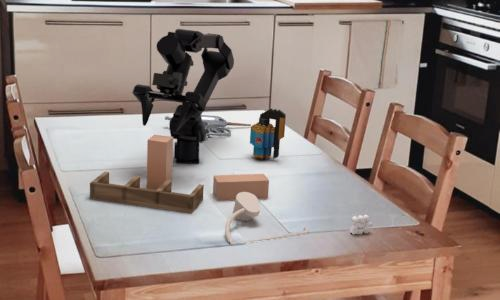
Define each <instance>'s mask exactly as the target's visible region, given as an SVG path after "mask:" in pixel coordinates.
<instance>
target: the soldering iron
mask: <svg viewBox="0 0 500 300" xmlns="http://www.w3.org/2000/svg"><path fill="white" fill-rule="evenodd" d="M171 118H172V117H170V116H168V115H167V116H166V115H165V117H164V120H168V121H170V120H171ZM201 118H202V122H203V126H204V128H205V130H206V137H205V139H208V138H209V137H208V136H215V137H229V136H230V135H231V134H232V130H230V129H229V128H227V126H233V127H235V126H237V127H238V126H240V127H241V126H242V127H251V126H252V124H250V123H240V122H239V123H238V122H229V121H227V120H225V119H224V118H222V116H218V115H208V114H207V115H206V114H201ZM223 132H225V133H223Z"/></svg>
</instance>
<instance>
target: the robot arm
mask: <svg viewBox="0 0 500 300" xmlns="http://www.w3.org/2000/svg"><path fill="white" fill-rule="evenodd" d="M208 49H217V50H218V51H217V50H216V51H214V50H208ZM202 50H203V51H202ZM156 51H157V52H158V54H159V55H160V56H161V57H162V59H163V60H164V62H165V63H166V64H168V65H167V67H166V70H163V72H162V73H159V72H154V73H153V77H152V82H151V83H152V84H151V85H152V86H156V87H155V88H156V89H157V90H159V91H154V90H153V89H152V88H151V86H150V85H145V84H138V83H137V84H136V85H135V86H134V87H133V89H132V92H131V93H132V95H133V96H134V97H135V98H136V99H137V100H138V102H140V104H141V114H142V115H141V118H142V125H143V126H144V127H145V126H146V125H147V123H148V121H149V118H150V117H151V113H152V110H153V108H154V103H153V102H154V101H155V100H159V101H160V100H161V101H169V102H175V103H181V104H179V105H178V106H177V107H176V109H175V111H174V113H173V114H172V115H173V116H172V117H170V118H171V120H169V125H168V126H169V127H168V128H169V133H170V137H173V140H176V141H175V142H174V147H173V158H174V159H175V163H177V164H200V143H204V142H205V140H206V130H205V128H204V126H203V122H202V118H201V115H203V114H202V113H203V112H205V109H206V106H207V104H208V102H209V100H210V98H211V96H212V94H213V93H214V90H215V88H216V86H217V84H218V83H219V81H220V80H222V79H224V78H226V77H227V76H228V75H229V74H230V72H231V70H232V69H233V68H234V65H235V59H234V58H235V57H234V55H233V50H232V49H231V47H229V46H228V45H227V43H226V42H225V40H224V36H223V35H221V34H218V33H203V32H201V31H199V30H192V29H183V28H176V29H175V30H174V32H173V31H168V32H167V35H164V36H163V37H161V38H160V39H159V40H158V41H157V43H156ZM201 51H202V52H201ZM199 52H201V54H200V56H201V59H202V65H203V69H204V71H203V73H202V75H201V76H200V79H199V80H198V82H197V84H196V86H195V88H194V89H193V91H187V92H185V95H184V94H183V93H184V90H185V87H187V86H188V81H187V79H188V75H189V73H190V70H191V67H193V66H194V65H195V64H194V61H193V58H192V55H190V54H189V53H195V54H197V53H199ZM174 159H173V160H174Z"/></svg>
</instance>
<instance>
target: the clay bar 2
mask: <svg viewBox="0 0 500 300" xmlns="http://www.w3.org/2000/svg"><path fill="white" fill-rule="evenodd" d="M269 186H270V179H269V178H268V177H267V176H266V174H264V173H249V174H247V173H246V174H244V173H242V174H241V173H240V174H222V175H221V174H219V175H218V174H215V175H213V182H212V194H213V196H214V197H215V199H216V201H235V200H236V196H237V194H238V193H240V192H249V193H252V194H253V195H255V196H256V197H257V199H258V200H261V199H269V189H270V187H269Z"/></svg>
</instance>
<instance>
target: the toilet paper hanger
mask: <svg viewBox="0 0 500 300" xmlns="http://www.w3.org/2000/svg"><path fill="white" fill-rule="evenodd" d="M260 212H261V205H260V202H259V199H257V197H256V196H255V195H253V194H252V193H249V192H240V193H238V194H237V196H236V200H234V207H233V211H232V214H231V215H230V216H229V218H228V219H227V221H226V223H225V227H224V228H225V229H224V233H225V238H226V240H227V242H228V243H229V242H230V243H233V244H236V243H237V242H234V241H233V240H234V239H232V236H231V233H230V229H231V224H232V222H233V220H234V219H235V220H237V221H250V220H252V219H253V218H256V217H258V216H259V214H260ZM304 230H305V231H304ZM308 231H309V232H310V229H309V228H308V227H307V226H305V227H303V231H298V232H294V233H287V234H282V235H280V234H279V235H276V236H269V237H263V238H256V239H252V240H245V242H246V243H247V242H254V241H262V240H268V241H271V240H270V239H274V240H277V239H276V238H279V239H283V238H282V237H285V238H288V237H287V236H291V237H294V236H293V235H297V236H299V235H298V234H302V233H306V232H308ZM241 242H242V243H243V242H244V241H241ZM262 242H263V241H262Z"/></svg>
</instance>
